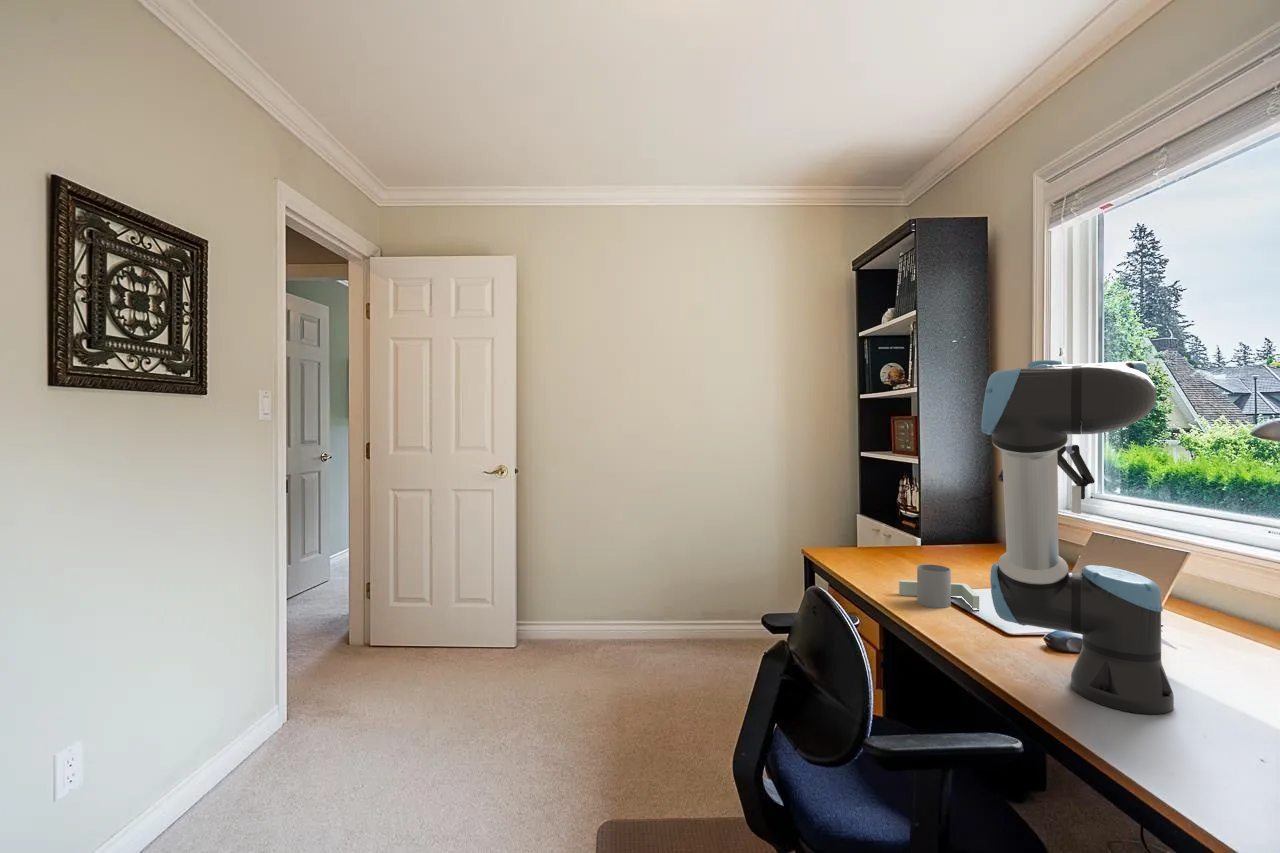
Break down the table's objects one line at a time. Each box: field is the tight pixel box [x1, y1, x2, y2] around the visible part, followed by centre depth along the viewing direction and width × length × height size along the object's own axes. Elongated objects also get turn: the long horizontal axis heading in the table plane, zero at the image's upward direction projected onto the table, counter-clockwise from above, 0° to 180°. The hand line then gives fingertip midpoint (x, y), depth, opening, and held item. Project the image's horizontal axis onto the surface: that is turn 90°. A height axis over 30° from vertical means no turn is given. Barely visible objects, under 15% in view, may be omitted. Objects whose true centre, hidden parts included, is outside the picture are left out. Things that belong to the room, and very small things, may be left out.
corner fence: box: [898, 579, 980, 610], centre depth 171 cm, size 12×18×4 cm
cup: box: [916, 563, 952, 609], centre depth 169 cm, size 8×8×10 cm
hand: (1044, 512), depth 147 cm, fingers open, 13 cm apart
